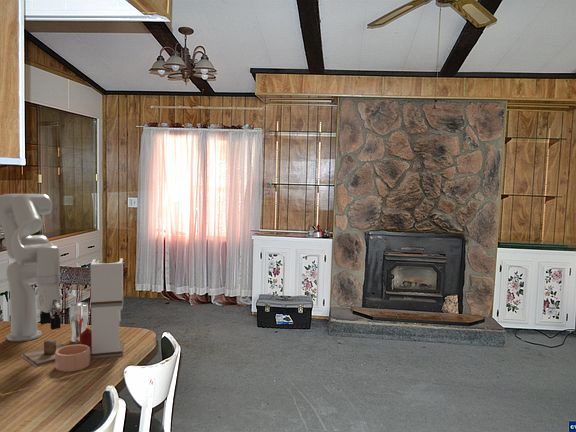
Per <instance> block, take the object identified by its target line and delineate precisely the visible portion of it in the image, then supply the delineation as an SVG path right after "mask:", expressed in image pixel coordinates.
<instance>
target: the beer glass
mask: <svg viewBox="0 0 576 432" xmlns="http://www.w3.org/2000/svg"><path fill="white" fill-rule="evenodd" d="M88 321H89V305H88V302H85V301H84V302H83V301H79V302H74V303H71V304H70V305H69V322H70V323H69V324H70V328H71V340H70V341H71V342H72V343H81V342H80V335H81V334H82V332H83V331H85V330H86V327H88V323H89V322H88Z"/></svg>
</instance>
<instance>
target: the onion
mask: <svg viewBox="0 0 576 432" xmlns="http://www.w3.org/2000/svg"><path fill="white" fill-rule="evenodd" d="M79 343H80V344H81V345H87V346H89V347H90V348H91V347H92V329H90V328H89V327H88V326H87V327H86V330H85V331H83V332H82V334H81V335H80V342H79Z"/></svg>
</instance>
